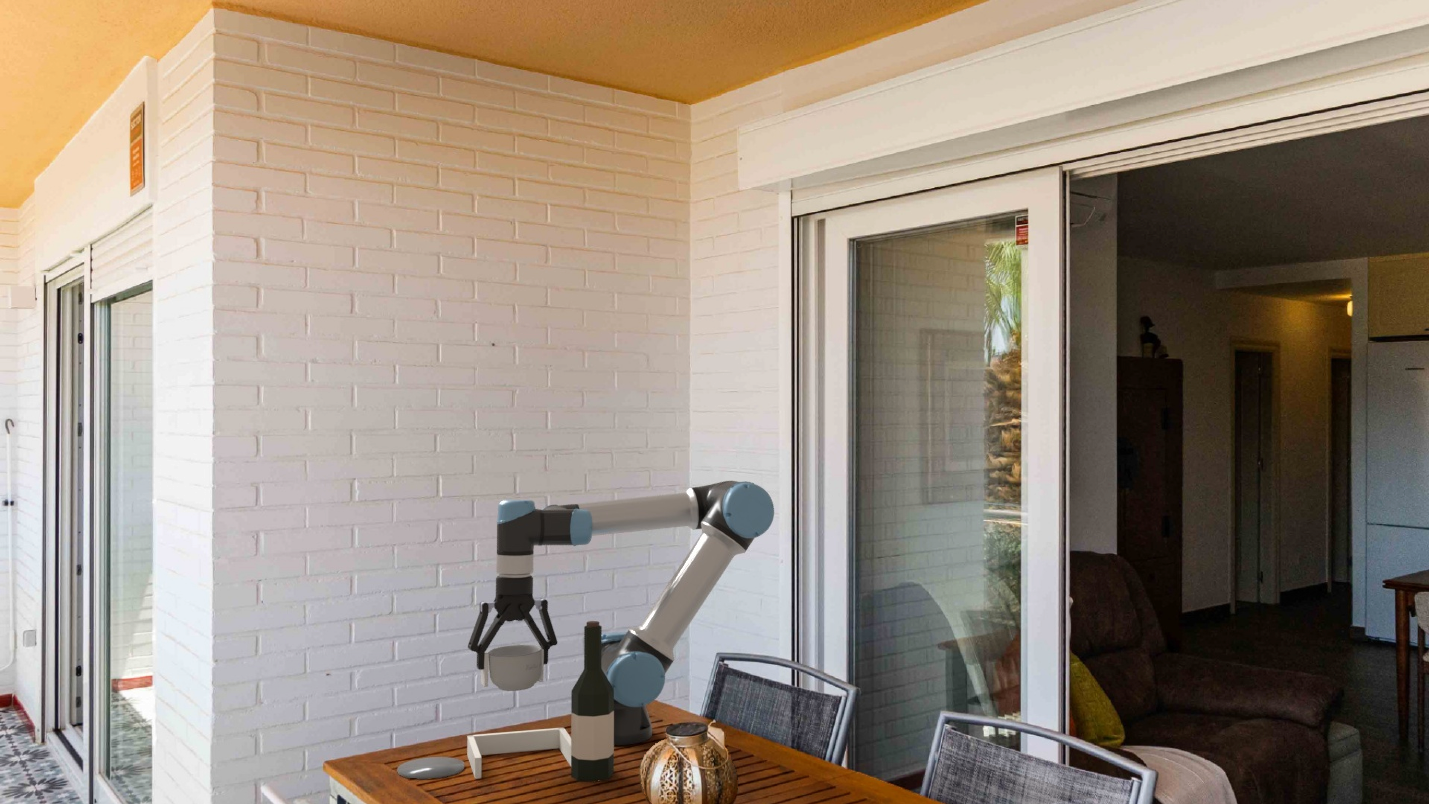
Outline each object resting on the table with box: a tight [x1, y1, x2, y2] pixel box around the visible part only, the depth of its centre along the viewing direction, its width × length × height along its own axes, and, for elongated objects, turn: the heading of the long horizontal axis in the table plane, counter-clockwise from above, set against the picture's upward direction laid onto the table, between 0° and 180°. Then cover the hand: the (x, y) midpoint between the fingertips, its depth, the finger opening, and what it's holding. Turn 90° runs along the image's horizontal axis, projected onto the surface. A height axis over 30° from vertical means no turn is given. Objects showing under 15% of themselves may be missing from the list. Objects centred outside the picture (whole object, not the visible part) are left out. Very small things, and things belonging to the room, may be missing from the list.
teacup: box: [487, 643, 542, 692], centre depth 222 cm, size 14×11×8 cm
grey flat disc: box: [396, 756, 465, 780], centre depth 217 cm, size 13×13×1 cm
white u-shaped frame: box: [466, 727, 571, 780], centre depth 222 cm, size 20×17×4 cm
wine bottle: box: [570, 620, 615, 783], centre depth 214 cm, size 8×8×30 cm
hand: (512, 683), depth 222 cm, fingers closed on teacup, 11 cm apart
